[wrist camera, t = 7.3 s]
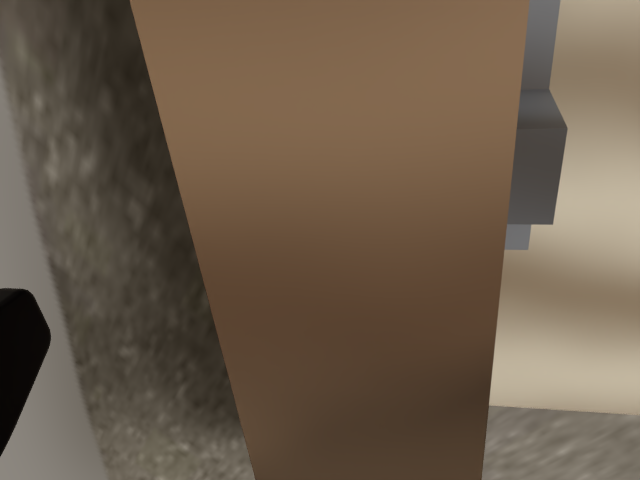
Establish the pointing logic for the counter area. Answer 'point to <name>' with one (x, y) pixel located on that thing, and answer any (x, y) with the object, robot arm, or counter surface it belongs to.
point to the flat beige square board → (574, 215)
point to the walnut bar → (347, 217)
